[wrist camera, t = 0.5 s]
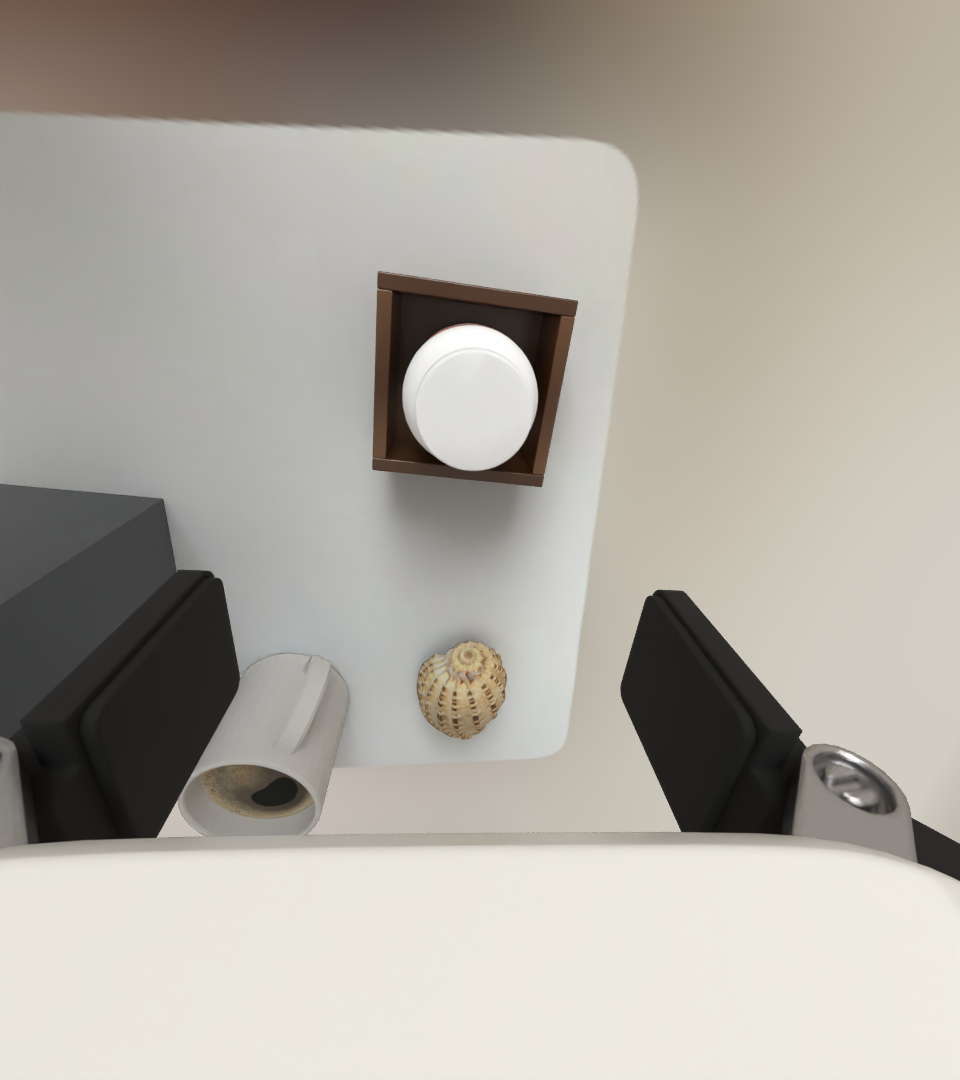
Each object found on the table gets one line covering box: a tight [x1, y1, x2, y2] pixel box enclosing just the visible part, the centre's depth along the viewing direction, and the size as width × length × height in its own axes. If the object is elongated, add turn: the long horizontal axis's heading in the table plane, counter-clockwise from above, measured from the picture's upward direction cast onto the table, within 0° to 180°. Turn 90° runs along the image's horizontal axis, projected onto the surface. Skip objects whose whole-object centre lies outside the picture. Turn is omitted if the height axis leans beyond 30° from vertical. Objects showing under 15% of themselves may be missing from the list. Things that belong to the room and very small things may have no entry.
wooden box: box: [372, 271, 578, 487], centre depth 26 cm, size 9×9×6 cm
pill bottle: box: [402, 322, 538, 471], centre depth 23 cm, size 6×6×11 cm
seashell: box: [417, 640, 507, 740], centre depth 37 cm, size 8×6×10 cm
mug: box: [178, 653, 349, 837], centre depth 34 cm, size 11×10×10 cm
